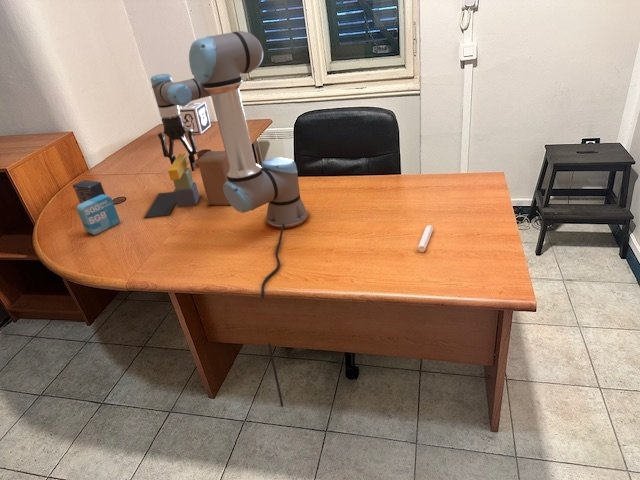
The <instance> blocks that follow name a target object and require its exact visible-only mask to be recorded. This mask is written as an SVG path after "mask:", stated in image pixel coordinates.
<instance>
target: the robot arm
mask: <svg viewBox="0 0 640 480" xmlns="http://www.w3.org/2000/svg"><path fill="white" fill-rule="evenodd" d="M262 46H263V45H262V44H261V42H260V40H259V39H258V38H257V37H256V36H255V35H254V34H252V33H250V32H248V31H243V30H237V31H232V32H226V33H221V34H215V35H207V36H205V37H200V38H197V39H195V40H194V41H193V42H192V43H191V45H190V48H189V52H188V64H189V69H190V72H191V75H192V76H193V78H189V79H184V80H181V81H176V82H174V81H173V78H172V76H171V75H170V73H158V74H155V75H154V74H153V75H152V76H151V77H150V83H151V88H152V91H153V94H154V97H155V98H154V99H155V102H156V104H157V109H158V112H159V115H160V116H159V117H161V123H162V126H163V131H159V132H158V133H157V136H158V138H159V140H160V145H161V149H162V154H163V157H164V158H168V159H169V162H170V166H171V165H172V164H173V162H174V161H175V159H176V158H177V156H176V155H174V145H175V141H176V140H178V141H180V142H181V143H182V145H183V147H184V148H185V150H186V152H187V154H188V159H189V165H190V170H191V172H195V170H196V167H195V166H196V165H195V164H194V163H195V160H196V157H195V155H197V152H198V151H199V150H198V147H197V144H196V140H195V138H194V134H193V130H192V129H185V127H184V126H183V122H182V118H181V115H179V114H180V110H179V106H185V105H187V104H188V103H191V102H195V101H198V100H200V99H204V98H208V97H211V101H212V104H213V108H214V113H215V117H216V121H217V124H218V129H219V132H220V136H221V140H222V143H223V148H224V151H225V152H226V156H227V160H228V163H229V167H230V169H229V171H228V172H227V178H228V181H227V182H226V183H224V185H223V186H224V187H223V191H224V194H225V196H226V198H227V200H228V202H229V203H230V205H231V207H232V208H233V209H234V210H235V211H236V212H237V213H238V212H239V213H242V214H244V213H248V212H250V211H255V210H256V209H258V208H260V207H262V206H264V205H267V204H268V205H267V209H266V216H265V219H266V223H267V225H268V226H269V227H271V228H273V229H277V230H280V233H279V237H278V243H277V245H276V248H275V254H274V255H275V259H276V262H277V265H276V268H275V269H274V270H273V271H271V272H270V273H269V274H268V275H267V276H266V277H265V278H264V280H263V281H262V283H261V287H260V288H261V289H260V291H261V295H260V296H261V297H260V298H261V299H262V300H263V299H264V298H265V286H266V285H265V284H266V283H267V281H268V280H269V279H270V278H271V277H272V276H273V275H274V274H276V273H277V271H278V270H279V269H280V266H281V262H280V261H281V260H280V258H279V249H280V246H281V242H282V238H283V233H284V230H288V229H295V228H297V227H300V226H301V225H303V224H304V223H306V222H307V220H308V219H309V218H308V217H309V215H308V211H307V208H306V206H305V204H304V203H303V201H302V198H301V192H300V191H301V190H300V185H299V176H298V172H299V171H298V168H297V164H296V162H295V161H294V160H292V159H290V158H287V157H271V158H267V159H264V160H263V161H262V163H261V165H260V164H258V163H256V158H255V154H254V150H253V146H252V140H251V137H250V134H249V133H250V132H249V128H248V124H247V119H246V115H245V109H244V105H243V102H242V101H243V100H242V98H241V97H242V96H241V93H240V89H239V88H240V86H241V85H242V83H243V78H242V75H243V74H250V73H252V72H253V71H254V70H256V69H258V68H259V67H260V65H261V63H262V62H263V59H264V50H263V47H262ZM185 132H186V133H187V134H186V135H187V136H188V140H187V138H186V136H185V134H184V133H185ZM166 137H168V138H169V139H168V146H167V141H166ZM188 141H189V142H188ZM267 346H268V351H269V355H270V361H271V365H272V369H273V373H274V379H275V383H276V388H277V394H278V399H279V401H280V407H281V408H283V407H284V403H283V402H284V401H283V397H282V392H281V388H280V383H279V378H278V373H277V368H276V365H275V360H274V353H273V349H272V344H271V343H270V342H268V343H267Z"/></svg>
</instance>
